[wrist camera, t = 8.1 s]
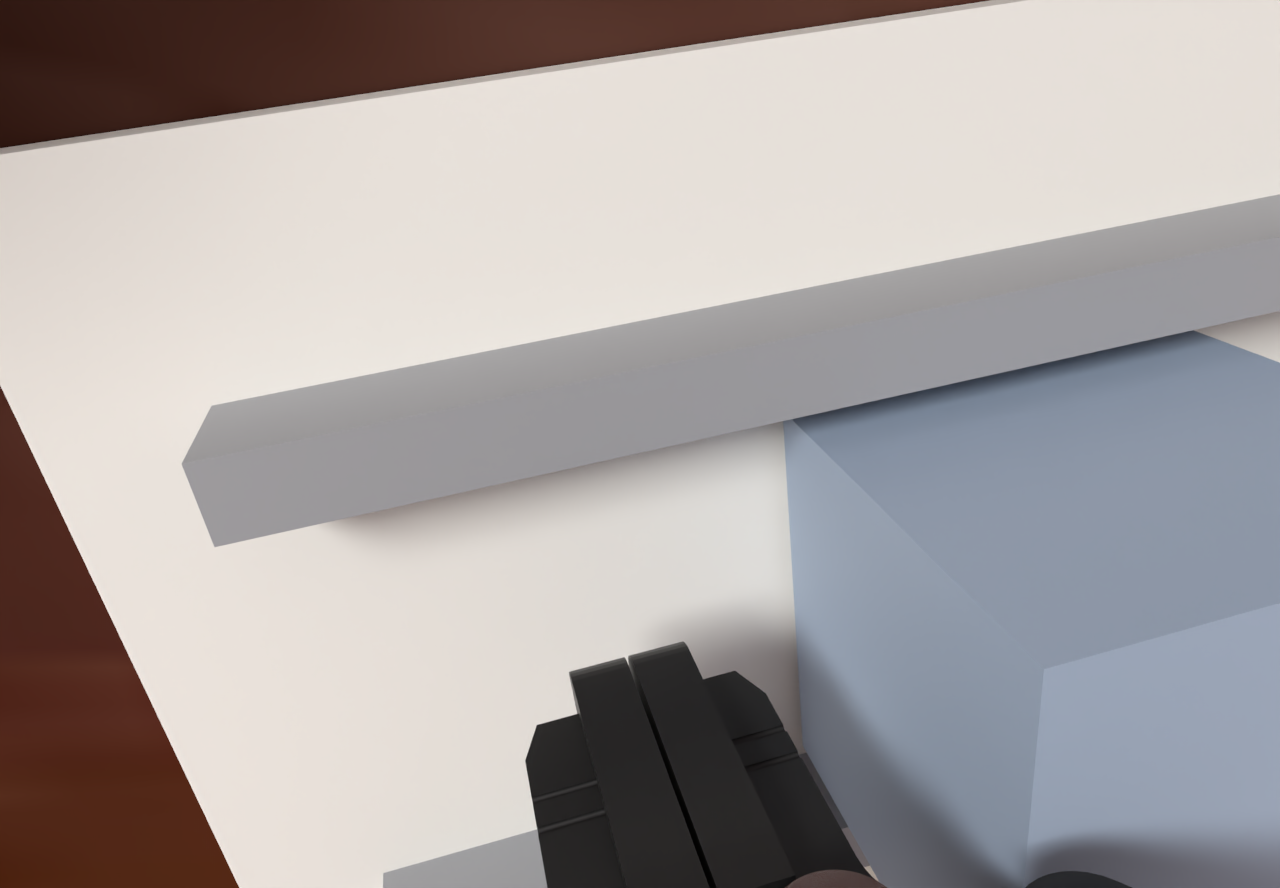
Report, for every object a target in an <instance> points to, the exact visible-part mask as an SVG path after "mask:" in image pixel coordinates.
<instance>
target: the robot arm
mask: <svg viewBox="0 0 1280 888" xmlns="http://www.w3.org/2000/svg"><path fill="white" fill-rule="evenodd" d="M628 664H629V665H628ZM569 677H570V682H571V687H572V691H573V696H574V701H575V706H576V710H577V714H575V715H571V716H568V717H564V718H560V719H557V720H553V721H550V722H546V723H542V724H539V725H537V726H536V729H535V732H534V735H533V738H532V741H531V744H530V747H529V751H528V754H527V757H526V760H525V763H526V768H527V774H528V780H529V786H530V791H531V797H532V801H533V808H534V814H535V820H536V826H537V830H538V837H539V843H540V848H541V854H542V860H543V866H544V871H545V877H546V883H547V888H887V887H886V886H884V885H883V884H881V883H880V882H878V881H877V880H875V879H874V878H873V877H872V876H871V875H870V874H869V873H868V871H867V870H866V869H865V868H864V867H863V865H862V864H861V862H860V861H859V859H858V858H857V856H856V855H855V853H854V851H853V849H852V847H851V846H850V844H849V842H848V840H847V838H846V837H845V835H844V833H843V831H842V829H841V828H840V826H839V824H838V822H837V820H836V819H835V817H834V815H833V813H832V811H831V810H830V808H829V806H828V804H827V802H826V801H825V799H824V797H823V795H822V793H821V792H820V790H819V788H818V786H817V784H816V783H815V781H814V779H813V777H812V775H811V774H810V772H809V770H808V768H807V766H806V765H805V763H804V761H803V759H802V758H800V757H799V754H798V750H797V748H796V747H795V745H794V743H793V741H792V740H791V738H790V736H789V734H788V732H787V731H785V730H784V726H783V723H782V722H781V720H780V718H779V716H778V714H777V713H776V711H775V709H774V707H773V705H772V704H771V702H770V700H769V698H768V696H767V695H766V693H765V692H763V691H762V690H761V689H759V688H758V687H757V686H755V685H754V684H753V683H751V682H750V681H748V680H747V679H746V678H744V677H743V676H742V675H740V674H739V673H738V672H736V671H731V672H728V673H724V674H720V675H717V676H713V677H709V678H706V679H703V678H702V676H701V674H700V672H699V669H698V667H697V665H696V663H695V661H694V659H693V657H692V655H691V652H690V650H689V648H688V646H687V645H686V643H685V642H683V641H682V642H678V643H674V644H671V645H667V646H663V647H659V648H656V649H652V650H648V651H644V652H641V653H637V654H633V655H629V656H628V663H627V661H626V659H625V657H623V658H619V659H615V660H611V661H608V662H604V663H600V664H596V665H593V666H589V667H585V668H581V669H577V670H574V671H570V672H569ZM1025 888H1132V887H1130V886H1128V885H1125V884H1123V883H1121V882H1118V881H1116V880H1113V879H1110V878H1108V877H1105V876H1102V875H1098V874H1093V873H1089V872H1080V871H1061V872H1056V873H1051V874H1047V875H1045V876H1042V877H1040V878H1037V879H1036V880H1034V881H1033V882H1031V883H1030V884H1028V885H1027V886H1026V887H1025Z"/></svg>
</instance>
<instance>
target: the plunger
mask: <svg viewBox="0 0 1280 888" xmlns="http://www.w3.org/2000/svg"><path fill="white" fill-rule="evenodd" d="M783 426H784V443H785V459H786V476H787V493H788V509H789V526H790V542H791V559H792V575H793V592H794V608H795V625H796V642H797V658H798V675H799V691H800V708H801V724H802V741H803V747H804V749H805V750H806V752H807V754H808V756H809V758H810V759H811V761H812V763H813V765H814V767H815V768H816V770H817V772H818V774H819V775H820V777H821V779H822V781H823V783H824V784H825V786H826V788H827V790H828V791H829V793H830V795H831V797H832V799H833V800H834V802H835V804H836V806H837V807H838V809H839V811H840V813H841V815H842V816H843V818H844V820H845V822H846V824H847V825H848V827H849V829H850V831H851V832H852V834H853V836H854V838H855V840H856V841H857V843H858V845H859V847H860V848H861V850H862V852H863V854H864V856H865V857H866V859H867V861H868V863H869V864H870V866H871V868H872V870H873V872H874V873H875V875H876V877H877V879H878V881H879V882H880V883H881V884H883V885H884V886H886V887H887V888H1025V887H1026V886H1027V885H1028V884H1030V883H1031V882H1033V881H1034V880H1036V879H1037V878H1040V877H1042V876H1045V875H1047V874H1051V873H1056V872H1061V871H1080V872H1089V873H1093V874H1098V875H1102V876H1105V877H1108V878H1110V879H1113V880H1116V881H1118V882H1121V883H1123V884H1125V885H1128V886H1130V887H1132V888H1280V363H1279V362H1277V361H1274V360H1271V359H1269V358H1266V357H1263V356H1261V355H1258V354H1255V353H1253V352H1250V351H1247V350H1245V349H1242V348H1239V347H1237V346H1234V345H1231V344H1229V343H1226V342H1223V341H1221V340H1218V339H1215V338H1213V337H1210V336H1207V335H1205V334H1202V333H1199V332H1197V331H1194V330H1192V331H1187V332H1183V333H1178V334H1174V335H1169V336H1165V337H1160V338H1156V339H1151V340H1147V341H1142V342H1138V343H1133V344H1129V345H1124V346H1120V347H1115V348H1111V349H1106V350H1102V351H1097V352H1093V353H1088V354H1084V355H1079V356H1074V357H1070V358H1065V359H1061V360H1056V361H1052V362H1047V363H1043V364H1038V365H1034V366H1029V367H1025V368H1020V369H1016V370H1011V371H1007V372H1002V373H998V374H993V375H989V376H984V377H980V378H975V379H971V380H966V381H962V382H957V383H953V384H948V385H944V386H939V387H935V388H930V389H926V390H921V391H917V392H912V393H908V394H903V395H899V396H894V397H890V398H885V399H881V400H876V401H872V402H867V403H863V404H858V405H854V406H849V407H845V408H840V409H836V410H831V411H827V412H822V413H818V414H813V415H809V416H804V417H800V418H795V419H791V420H786V421H783Z"/></svg>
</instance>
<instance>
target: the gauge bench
mask: <svg viewBox="0 0 1280 888" xmlns="http://www.w3.org/2000/svg"><path fill="white" fill-rule="evenodd" d="M1192 330H1194V331H1197V332H1199V333H1202V334H1205V335H1207V336H1210V337H1213V338H1215V339H1218V340H1221V341H1223V342H1226V343H1229V344H1231V345H1234V346H1237V347H1239V348H1242V349H1245V350H1247V351H1250V352H1253V353H1255V354H1258V355H1261V356H1263V357H1266V358H1269V359H1271V360H1274V361H1277V362H1279V363H1280V0H990V1H984V2H977V3H970V4H964V5H957V6H950V7H944V8H937V9H930V10H923V11H917V12H910V13H903V14H897V15H890V16H883V17H877V18H870V19H863V20H856V21H850V22H843V23H836V24H830V25H823V26H816V27H809V28H803V29H796V30H789V31H783V32H776V33H769V34H763V35H756V36H749V37H742V38H736V39H729V40H722V41H716V42H709V43H702V44H696V45H689V46H682V47H675V48H669V49H662V50H655V51H649V52H642V53H635V54H629V55H622V56H615V57H608V58H602V59H595V60H588V61H582V62H575V63H568V64H562V65H555V66H548V67H541V68H535V69H528V70H521V71H515V72H508V73H501V74H495V75H488V76H481V77H474V78H468V79H461V80H454V81H448V82H441V83H434V84H428V85H421V86H414V87H407V88H401V89H394V90H387V91H381V92H374V93H367V94H361V95H354V96H347V97H340V98H334V99H327V100H320V101H314V102H307V103H300V104H294V105H287V106H280V107H273V108H267V109H260V110H253V111H247V112H240V113H233V114H227V115H220V116H213V117H206V118H200V119H193V120H186V121H180V122H173V123H166V124H159V125H153V126H146V127H139V128H133V129H126V130H119V131H113V132H106V133H99V134H92V135H86V136H79V137H72V138H66V139H59V140H52V141H46V142H39V143H32V144H25V145H19V146H12V147H5V148H0V386H1V388H2V390H3V392H4V394H5V396H6V398H7V400H8V403H9V405H10V407H11V409H12V411H13V413H14V415H15V417H16V419H17V421H18V424H19V426H20V428H21V430H22V432H23V434H24V436H25V438H26V440H27V442H28V445H29V447H30V449H31V451H32V453H33V455H34V457H35V459H36V461H37V463H38V466H39V468H40V470H41V472H42V474H43V476H44V478H45V480H46V482H47V484H48V487H49V489H50V491H51V493H52V495H53V497H54V499H55V501H56V503H57V505H58V508H59V510H60V512H61V514H62V516H63V518H64V520H65V522H66V524H67V526H68V529H69V531H70V533H71V535H72V537H73V539H74V541H75V543H76V545H77V547H78V550H79V552H80V554H81V556H82V558H83V560H84V562H85V564H86V566H87V569H88V571H89V573H90V575H91V577H92V579H93V581H94V583H95V585H96V587H97V590H98V592H99V594H100V596H101V598H102V600H103V602H104V604H105V606H106V608H107V611H108V613H109V615H110V617H111V619H112V621H113V623H114V625H115V627H116V629H117V632H118V634H119V636H120V638H121V640H122V642H123V644H124V646H125V648H126V650H127V653H128V655H129V657H130V659H131V661H132V663H133V665H134V667H135V669H136V671H137V674H138V676H139V678H140V680H141V682H142V684H143V686H144V688H145V690H146V692H147V695H148V697H149V699H150V701H151V703H152V705H153V707H154V709H155V711H156V714H157V716H158V718H159V720H160V722H161V724H162V726H163V728H164V730H165V732H166V735H167V737H168V739H169V741H170V743H171V745H172V747H173V749H174V751H175V753H176V756H177V758H178V760H179V762H180V764H181V766H182V768H183V770H184V772H185V774H186V777H187V779H188V781H189V783H190V785H191V787H192V789H193V791H194V793H195V795H196V798H197V800H198V802H199V804H200V806H201V808H202V810H203V812H204V814H205V816H206V819H207V821H208V823H209V825H210V827H211V829H212V831H213V833H214V835H215V837H216V840H217V842H218V844H219V846H220V848H221V850H222V852H223V854H224V856H225V858H226V861H227V863H228V865H229V867H230V869H231V871H232V873H233V875H234V877H235V880H236V882H237V884H238V886H239V888H547V883H546V877H545V871H544V866H543V860H542V854H541V848H540V843H539V837H538V830H537V826H536V820H535V814H534V808H533V801H532V797H531V791H530V786H529V780H528V774H527V768H526V763H525V760H526V757H527V754H528V751H529V747H530V744H531V741H532V738H533V735H534V732H535V729H536V726H537V725H539V724H542V723H546V722H550V721H553V720H557V719H560V718H564V717H568V716H571V715H575V714H577V710H576V706H575V701H574V696H573V691H572V687H571V682H570V677H569V672H570V671H574V670H577V669H581V668H585V667H589V666H593V665H596V664H600V663H604V662H608V661H611V660H615V659H619V658H623V657H625V659H626V661H627V663H628V656H629V655H633V654H637V653H641V652H644V651H648V650H652V649H656V648H659V647H663V646H667V645H671V644H674V643H678V642H682V641H683V642H685V643H686V645H687V646H688V648H689V650H690V652H691V655H692V657H693V659H694V661H695V663H696V665H697V667H698V669H699V672H700V674H701V676H702V678H703V679H706V678H709V677H713V676H717V675H720V674H724V673H728V672H731V671H736V672H738V673H739V674H740V675H742V676H743V677H744V678H746V679H747V680H748V681H750V682H751V683H753V684H754V685H755V686H757V687H758V688H759V689H761V690H762V691H763V692H765V693H766V695H767V696H768V698H769V700H770V702H771V704H772V705H773V707H774V709H775V711H776V713H777V714H778V716H779V718H780V720H781V722H782V723H783V726H784V730H785V731H787V732H788V734H789V736H790V738H791V740H792V741H793V743H794V745H795V747H796V748H797V750H798V754H799V757H800V758H802V759H803V761H804V763H805V765H806V766H807V768H808V770H809V772H810V774H811V775H812V777H813V779H814V781H815V783H816V784H817V786H818V788H819V790H820V792H821V793H822V795H823V797H824V799H825V801H826V802H827V804H828V806H829V808H830V810H831V811H832V813H833V815H834V817H835V819H836V820H837V822H838V824H839V826H840V828H841V829H842V831H843V833H844V835H845V837H846V838H847V840H848V842H849V844H850V846H851V847H852V849H853V851H854V853H855V855H856V856H857V858H858V859H859V861H860V862H861V864H862V865H863V867H864V868H865V869H866V870H867V871H868V873H869V874H870V875H871V876H872V877H873V878H874V879H875V880H877V881H878V879H877V877H876V875H875V873H874V872H873V870H872V868H871V866H870V864H869V863H868V861H867V859H866V857H865V856H864V854H863V852H862V850H861V848H860V847H859V845H858V843H857V841H856V840H855V838H854V836H853V834H852V832H851V831H850V829H849V827H848V825H847V824H846V822H845V820H844V818H843V816H842V815H841V813H840V811H839V809H838V807H837V806H836V804H835V802H834V800H833V799H832V797H831V795H830V793H829V791H828V790H827V788H826V786H825V784H824V783H823V781H822V779H821V777H820V775H819V774H818V772H817V770H816V768H815V767H814V765H813V763H812V761H811V759H810V758H809V756H808V754H807V752H806V750H805V749H804V747H803V741H802V724H801V708H800V691H799V675H798V658H797V642H796V625H795V608H794V592H793V575H792V559H791V542H790V526H789V509H788V493H787V476H786V459H785V443H784V426H783V421H786V420H791V419H795V418H800V417H804V416H809V415H813V414H818V413H822V412H827V411H831V410H836V409H840V408H845V407H849V406H854V405H858V404H863V403H867V402H872V401H876V400H881V399H885V398H890V397H894V396H899V395H903V394H908V393H912V392H917V391H921V390H926V389H930V388H935V387H939V386H944V385H948V384H953V383H957V382H962V381H966V380H971V379H975V378H980V377H984V376H989V375H993V374H998V373H1002V372H1007V371H1011V370H1016V369H1020V368H1025V367H1029V366H1034V365H1038V364H1043V363H1047V362H1052V361H1056V360H1061V359H1065V358H1070V357H1074V356H1079V355H1084V354H1088V353H1093V352H1097V351H1102V350H1106V349H1111V348H1115V347H1120V346H1124V345H1129V344H1133V343H1138V342H1142V341H1147V340H1151V339H1156V338H1160V337H1165V336H1169V335H1174V334H1178V333H1183V332H1187V331H1192ZM628 665H629V664H628ZM878 882H879V881H878Z"/></svg>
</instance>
